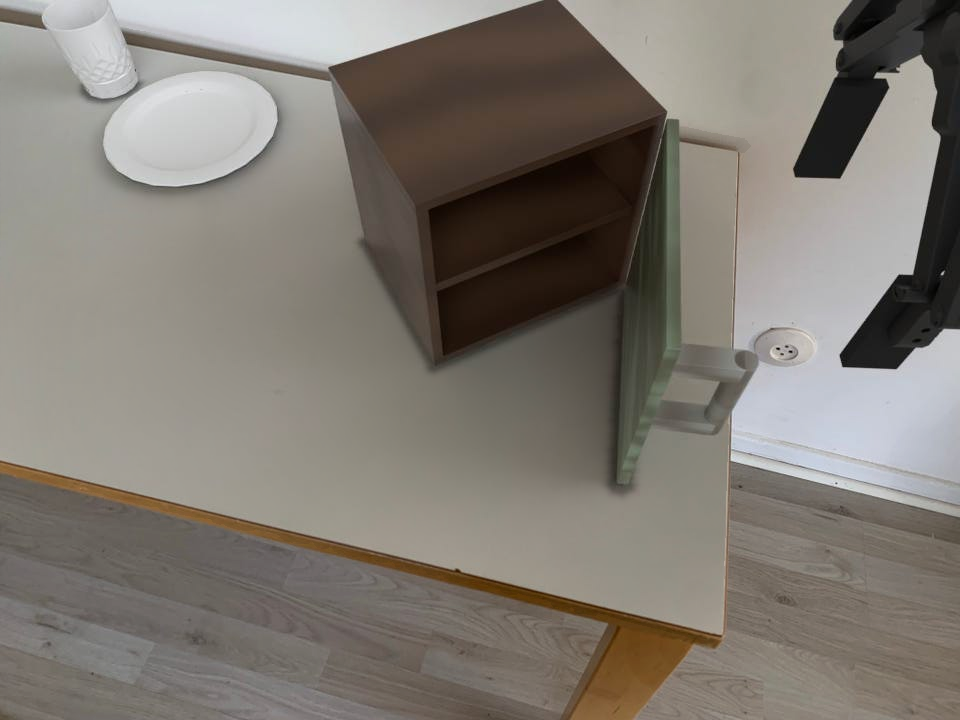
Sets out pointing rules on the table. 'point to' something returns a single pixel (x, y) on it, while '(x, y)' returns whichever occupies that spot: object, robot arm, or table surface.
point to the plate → (190, 129)
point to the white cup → (92, 45)
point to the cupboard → (497, 171)
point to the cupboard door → (667, 329)
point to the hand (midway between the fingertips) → (839, 260)
